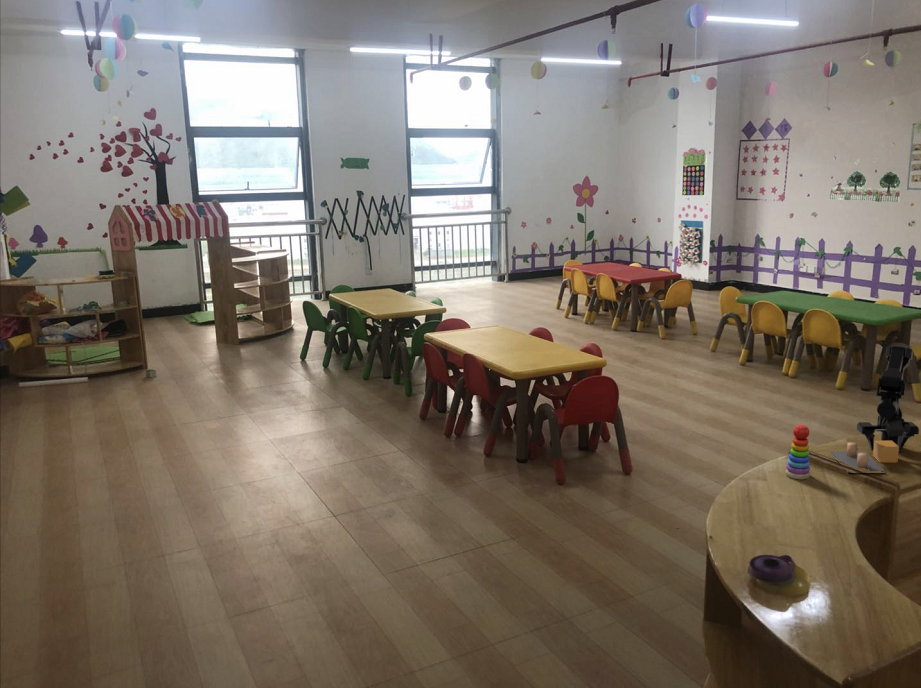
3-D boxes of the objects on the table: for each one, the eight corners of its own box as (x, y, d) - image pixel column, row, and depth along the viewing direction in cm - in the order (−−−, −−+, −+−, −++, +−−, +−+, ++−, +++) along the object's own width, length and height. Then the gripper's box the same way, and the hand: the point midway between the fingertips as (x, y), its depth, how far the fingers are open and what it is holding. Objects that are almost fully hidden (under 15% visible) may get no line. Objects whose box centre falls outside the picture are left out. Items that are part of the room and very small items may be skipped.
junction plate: (830, 453, 273) (831, 439, 272) (864, 453, 271) (865, 439, 270) (847, 473, 256) (848, 458, 255) (884, 473, 254) (886, 458, 253)
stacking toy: (786, 479, 254) (789, 428, 250) (783, 470, 262) (786, 420, 257) (811, 481, 252) (814, 429, 248) (808, 471, 259) (811, 421, 255)
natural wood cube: (872, 456, 269) (874, 440, 268) (890, 456, 268) (891, 440, 267) (879, 462, 263) (880, 446, 262) (897, 462, 263) (898, 446, 261)
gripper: (869, 417, 255) (866, 459, 259) (928, 416, 252) (924, 459, 256) (857, 406, 266) (854, 447, 270) (913, 406, 263) (910, 447, 267)
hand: (885, 450), depth 265 cm, fingers open, 9 cm apart
